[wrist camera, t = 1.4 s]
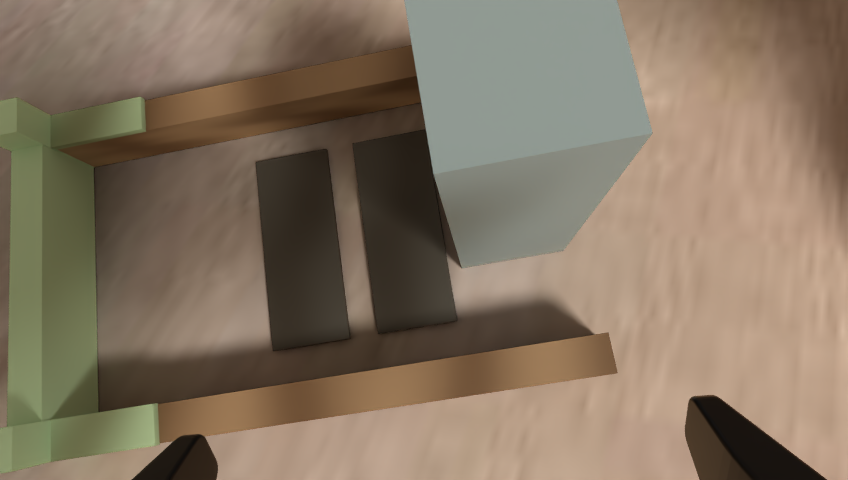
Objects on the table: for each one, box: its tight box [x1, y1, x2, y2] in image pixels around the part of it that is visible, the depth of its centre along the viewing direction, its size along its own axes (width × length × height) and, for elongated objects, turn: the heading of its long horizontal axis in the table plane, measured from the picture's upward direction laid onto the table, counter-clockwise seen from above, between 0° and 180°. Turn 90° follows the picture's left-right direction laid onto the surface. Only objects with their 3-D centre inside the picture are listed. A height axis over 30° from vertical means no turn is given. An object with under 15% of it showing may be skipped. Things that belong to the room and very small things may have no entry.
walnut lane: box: [51, 45, 617, 462], centre depth 23 cm, size 23×15×3 cm, turn 99°
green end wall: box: [0, 97, 99, 473], centre depth 23 cm, size 2×15×5 cm, turn 9°
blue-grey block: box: [404, 0, 652, 268], centre depth 18 cm, size 4×4×13 cm
